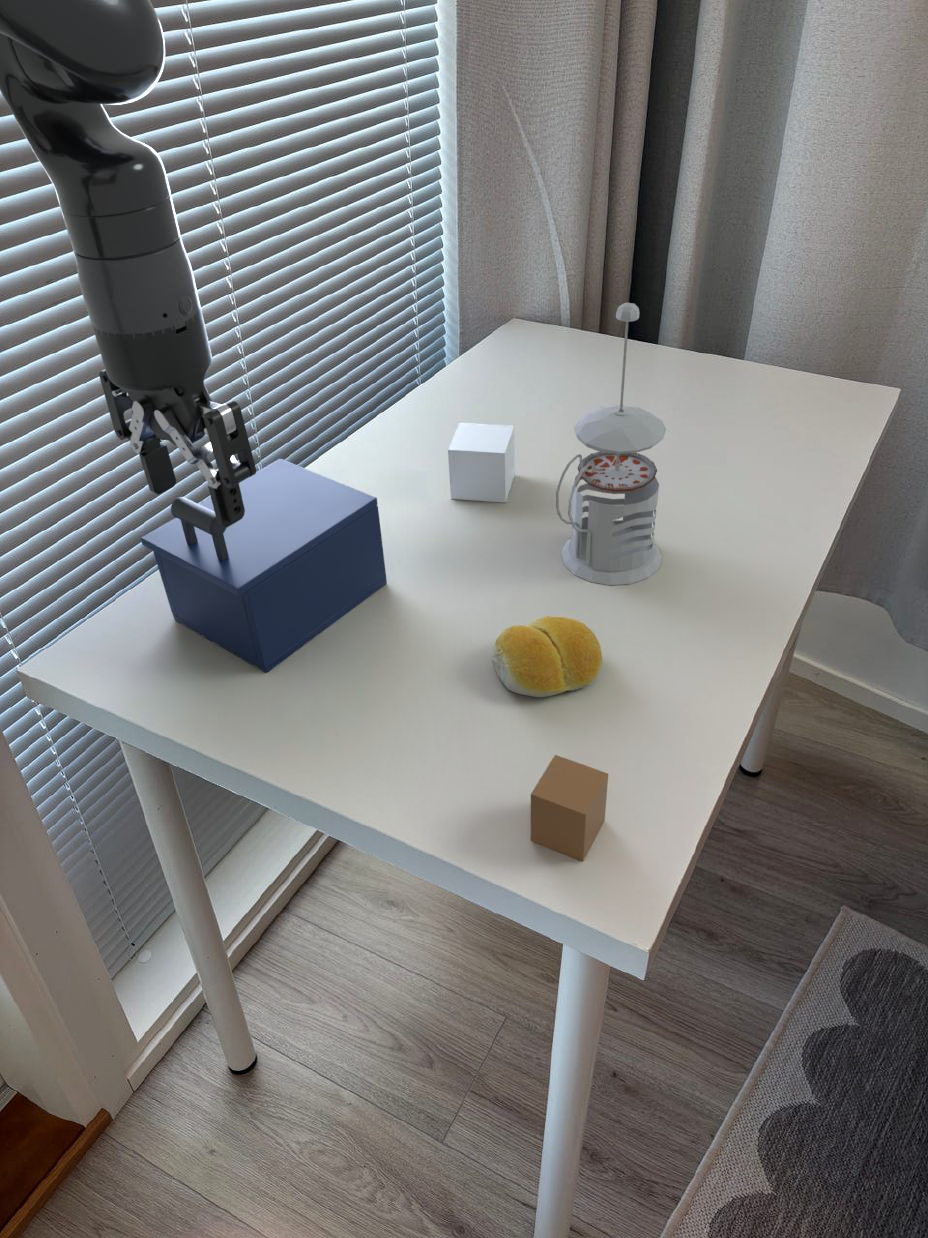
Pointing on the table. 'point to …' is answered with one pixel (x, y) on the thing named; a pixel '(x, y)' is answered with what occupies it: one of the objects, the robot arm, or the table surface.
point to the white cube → (481, 462)
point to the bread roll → (547, 657)
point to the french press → (615, 491)
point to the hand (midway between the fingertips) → (197, 505)
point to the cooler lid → (259, 526)
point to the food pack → (568, 807)
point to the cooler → (282, 596)
